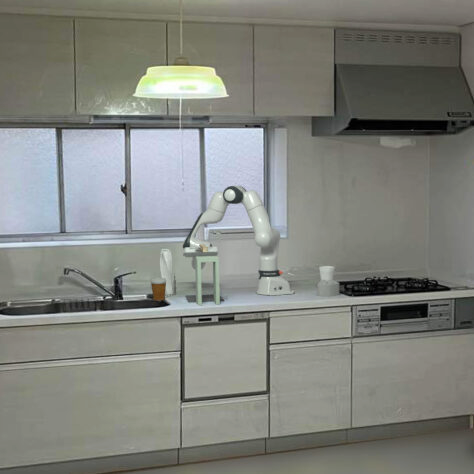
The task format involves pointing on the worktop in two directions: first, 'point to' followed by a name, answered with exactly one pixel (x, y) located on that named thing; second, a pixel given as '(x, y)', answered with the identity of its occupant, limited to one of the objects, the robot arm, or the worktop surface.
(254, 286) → the worktop surface
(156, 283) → the disposable coffee cup
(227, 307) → the worktop surface
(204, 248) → the bar
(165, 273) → the skyscraper
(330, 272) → the foam cup
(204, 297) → the mat
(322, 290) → the lumpy-topped squat cylinder
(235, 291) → the worktop surface
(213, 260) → the bridge
